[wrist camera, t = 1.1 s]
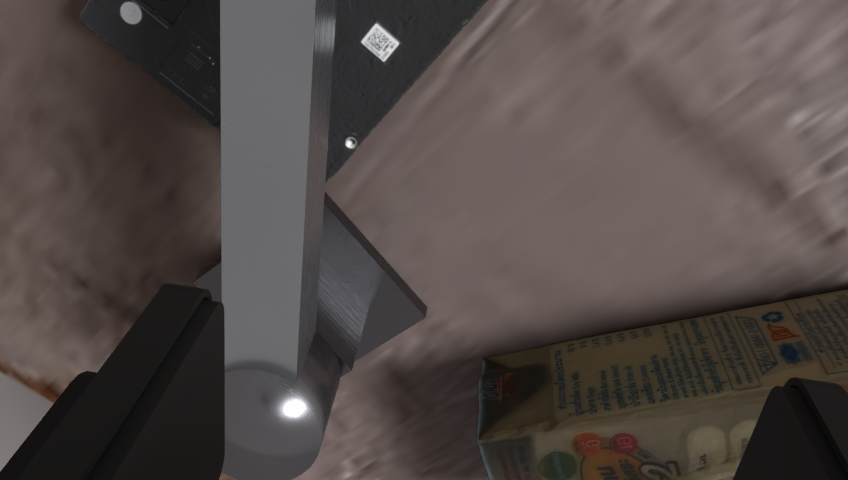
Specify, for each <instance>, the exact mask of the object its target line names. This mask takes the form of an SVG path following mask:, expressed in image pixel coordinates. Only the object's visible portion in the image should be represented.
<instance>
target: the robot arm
mask: <svg viewBox="0 0 848 480" xmlns="http://www.w3.org/2000/svg"><path fill="white" fill-rule="evenodd" d="M224 456H225V325H224V306H223V303H222V302H216V301H212V296H211V293H210V291H209V290H208V289H202V288H196V287H189V286H182V285H176V284H169V283H168V284H165V285H164V286H163V287H162V288H161V289H160V290H159V291H158V293H157V294H156V295H155V297H154V298H153V299H152V301H151V302H150V303H149V305H148V306H147V307H146V309H145V310H144V311H143V313H142V314H141V315H140V317H139V318H138V319H137V321H136V322H135V323H134V325H133V326H132V327H131V329H130V330H129V331H128V333H127V334H126V335H125V337H124V338H123V339H122V341H121V342H120V343H119V345H118V346H117V347H116V349H115V350H114V351H113V353H112V354H111V355H110V357H109V358H108V359H107V361H106V362H105V363H104V365H103V366H102V367H101V369H100V370H99V371H98V372H97V373H96V372H89V371H86V372H83V373H81V374H79V375H78V376H77V377H76V378H75V379H74V380H73V381H72V382H71V383H70V384H69V385H68V387H67V388H66V389H65V390H64V392H63V393H62V394H61V396H60V397H59V398H58V399H57V401H56V402H55V403H54V404H53V406H52V407H51V408H50V409H49V411H48V412H47V413H46V415H45V416H44V417H43V418H42V420H41V421H40V422H39V424H38V425H37V426H36V427H35V429H34V430H33V431H32V432H31V434H30V435H29V436H28V437H27V439H26V440H25V441H24V443H23V444H22V445H21V446H20V448H19V449H18V450H17V451H16V453H15V454H14V455H13V456H12V458H11V459H10V460H9V462H8V463H7V464H6V465H5V467H4V468H3V469H2V470H1V472H0V480H219V478H220V475H221V471H222V467H223V463H224ZM733 480H848V394H847V393H846V391H845V390H844V389H843V387H842V386H841V385H839V384H836V383H830V382H824V381H817V380H810V379H804V378H797V377H794V378H790V379H789V380H788V381H787V382H786V383H785V384H784V386H775V387H774V388H773V389H771V391H770V393H769V395H768V397H767V399H766V402H765V404H764V406H763V409H762V411H761V414H760V416H759V418H758V421H757V423H756V425H755V428H754V430H753V433H752V435H751V437H750V440H749V442H748V444H747V447H746V449H745V452H744V454H743V456H742V459H741V461H740V463H739V466H738V468H737V471H736V473H735V475H734V478H733Z"/></svg>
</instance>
